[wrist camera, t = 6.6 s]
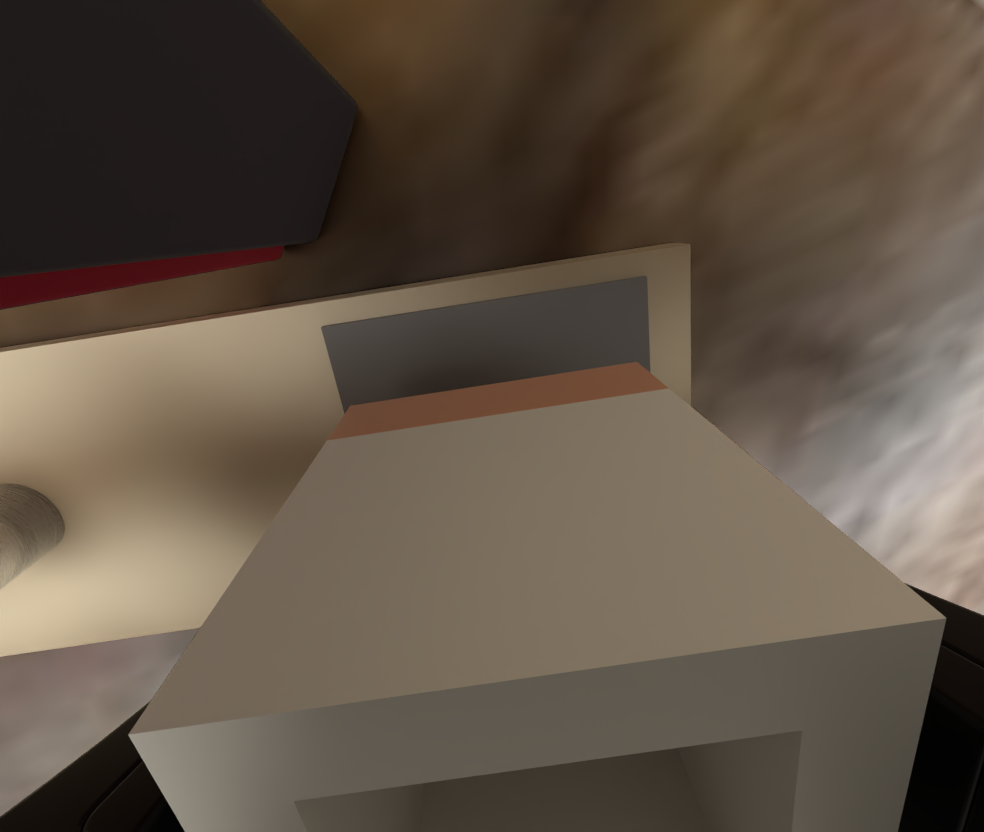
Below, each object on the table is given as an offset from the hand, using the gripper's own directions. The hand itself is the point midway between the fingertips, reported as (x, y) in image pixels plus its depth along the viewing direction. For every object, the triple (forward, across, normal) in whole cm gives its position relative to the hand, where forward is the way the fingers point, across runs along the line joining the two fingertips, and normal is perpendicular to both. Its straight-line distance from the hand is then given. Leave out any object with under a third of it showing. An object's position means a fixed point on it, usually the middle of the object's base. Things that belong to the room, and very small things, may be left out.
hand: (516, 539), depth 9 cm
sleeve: (+1, 0, 0) cm, 1 cm away
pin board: (+5, +6, 0) cm, 8 cm away
